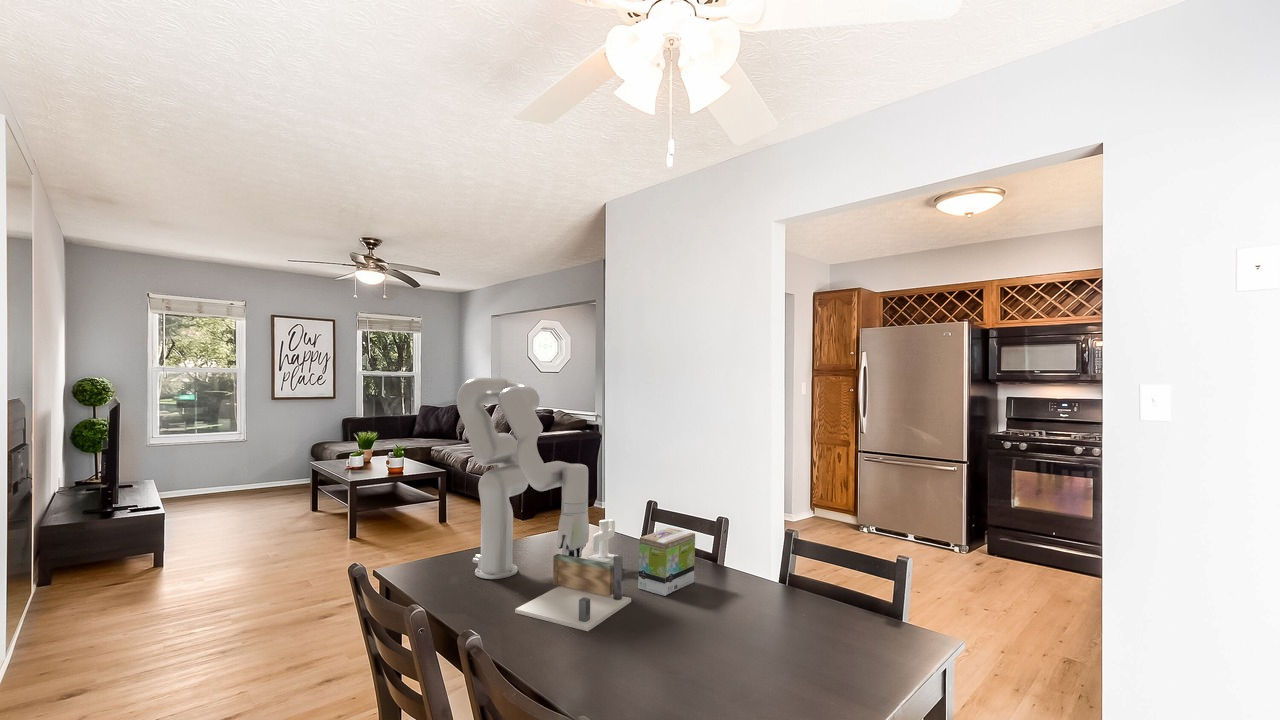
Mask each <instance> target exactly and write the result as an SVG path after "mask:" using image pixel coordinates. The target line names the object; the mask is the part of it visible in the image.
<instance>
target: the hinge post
mask: <svg viewBox="0 0 1280 720" xmlns="http://www.w3.org/2000/svg"><path fill="white" fill-rule="evenodd" d="M622 596H623V556H622V555H619V556H614V563H613V599H614V600H621V599H622ZM588 620H590V598H585V597H583V598H581V599H579V621H582V622H587V621H588Z"/></svg>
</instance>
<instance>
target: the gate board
mask: <svg viewBox="0 0 1280 720" xmlns="http://www.w3.org/2000/svg"><path fill="white" fill-rule="evenodd" d="M583 597H585V598H590V620H588V621H587V622H582V621H579V599H581V598H583ZM630 603H632V598H631V597H628V596H624V595H622V599H621V600H614V599H613V594H612V595H611V596H607V595H602V594H598V593H593V592H588V591H584V590H579V589H575V588H570V587H565V586H561V585H557V587H554V588H552V589H550V590H548V591H547V592H545V593H543V594H542V595H539V596H537V597H536V598H534V599H532V600H530V601H528V602H525V603H524V604H522V605H520V606H518V607H516V608H515V611H514V613H515V614H518V615H522V616H526V617H530V618H534V619H537V620H541V621H546V622H550V623H554V624H557V625H562V626H565V627H570V628H574V629H577V630H581V631H585V632H589V631H591V630H592V629H594V628H596V626H597V625H600V624H601V623H602V622H604V621H606V619H608V618H609V617H611V616H612V615H614V614H615V613H617V612H618V611H620V610H622V609H623V608H625V607H626V606H628V605H629V604H630Z"/></svg>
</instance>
